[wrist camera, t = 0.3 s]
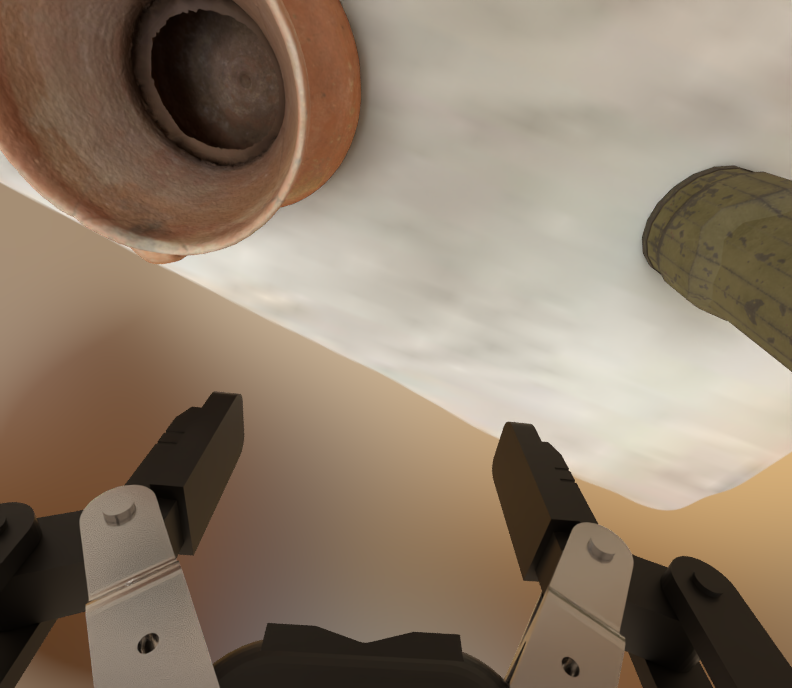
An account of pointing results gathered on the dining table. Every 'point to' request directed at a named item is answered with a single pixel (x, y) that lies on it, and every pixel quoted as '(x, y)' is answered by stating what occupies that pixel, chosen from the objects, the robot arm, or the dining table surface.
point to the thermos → (730, 250)
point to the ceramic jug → (176, 112)
